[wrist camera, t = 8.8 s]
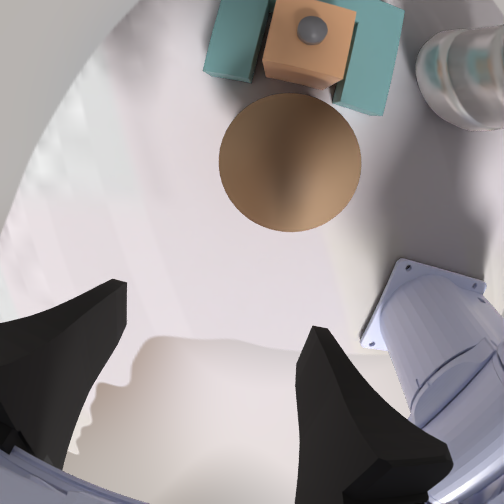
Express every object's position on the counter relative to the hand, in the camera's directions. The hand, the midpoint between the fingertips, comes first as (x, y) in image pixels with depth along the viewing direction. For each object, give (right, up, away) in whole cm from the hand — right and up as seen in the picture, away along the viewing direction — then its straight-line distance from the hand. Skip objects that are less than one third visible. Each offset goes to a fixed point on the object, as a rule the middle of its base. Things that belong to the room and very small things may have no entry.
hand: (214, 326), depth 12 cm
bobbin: (+4, +9, +7) cm, 12 cm away
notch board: (+5, +15, +4) cm, 17 cm away
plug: (+4, +14, +5) cm, 16 cm away
